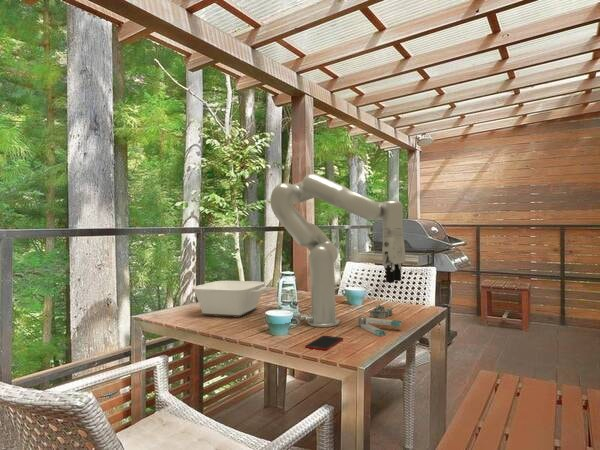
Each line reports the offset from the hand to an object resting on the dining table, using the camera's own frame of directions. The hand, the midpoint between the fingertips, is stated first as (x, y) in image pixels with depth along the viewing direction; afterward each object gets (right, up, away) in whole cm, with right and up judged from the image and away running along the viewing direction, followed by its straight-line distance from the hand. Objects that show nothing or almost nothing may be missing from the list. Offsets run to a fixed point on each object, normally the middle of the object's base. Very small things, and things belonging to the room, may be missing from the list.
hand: (393, 280), depth 160 cm
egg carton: (-1, -18, +20) cm, 27 cm away
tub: (-67, -19, +31) cm, 76 cm away
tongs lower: (-9, -18, -5) cm, 21 cm away
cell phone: (-27, -18, -21) cm, 39 cm away
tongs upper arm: (-4, -16, -3) cm, 17 cm away
